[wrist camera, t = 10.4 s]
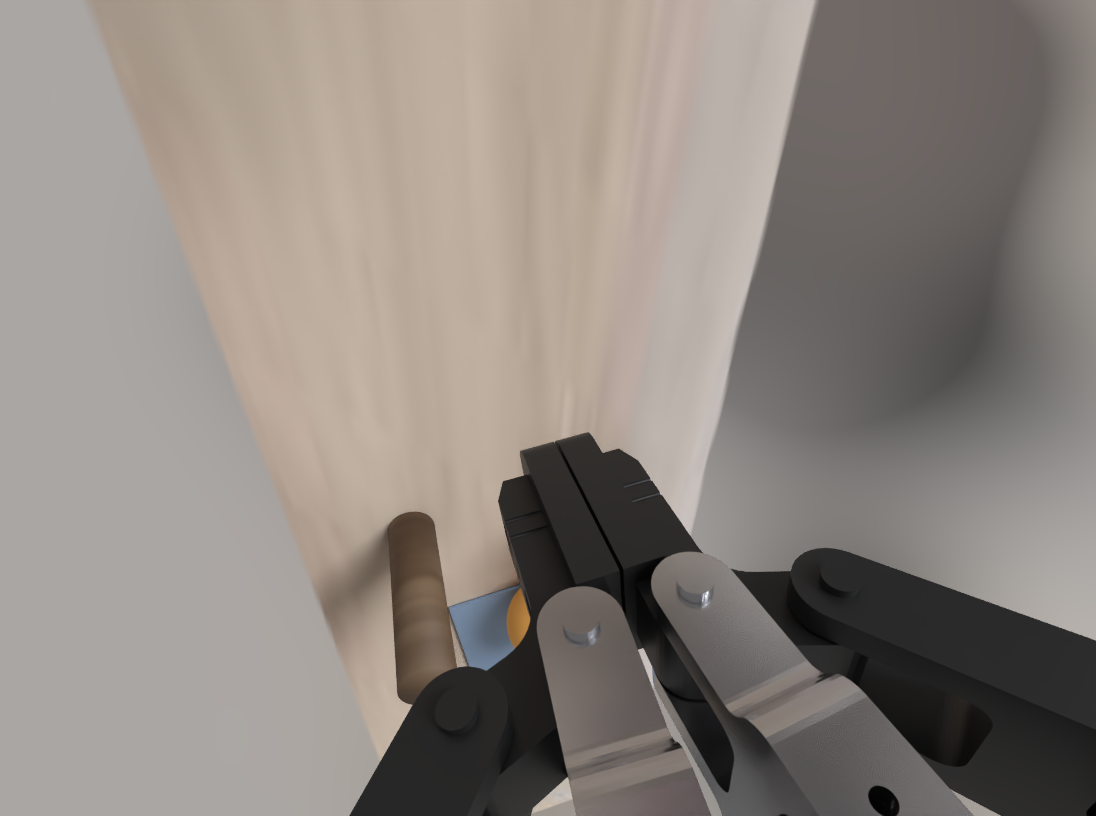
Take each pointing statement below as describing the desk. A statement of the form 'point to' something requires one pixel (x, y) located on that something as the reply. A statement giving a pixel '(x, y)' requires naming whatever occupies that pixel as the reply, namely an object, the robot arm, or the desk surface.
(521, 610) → the ball
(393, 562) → the post
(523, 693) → the robot arm
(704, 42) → the desk surface
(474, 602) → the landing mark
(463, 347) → the desk surface
